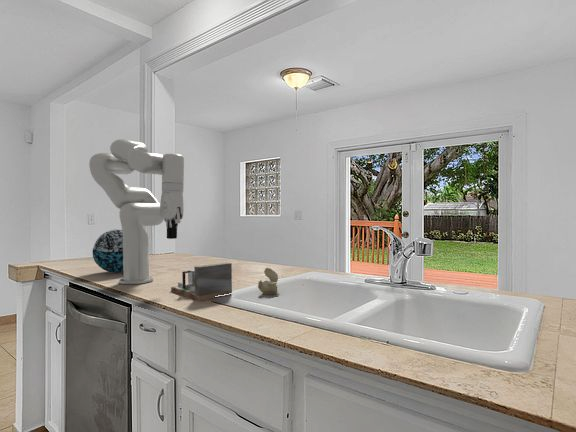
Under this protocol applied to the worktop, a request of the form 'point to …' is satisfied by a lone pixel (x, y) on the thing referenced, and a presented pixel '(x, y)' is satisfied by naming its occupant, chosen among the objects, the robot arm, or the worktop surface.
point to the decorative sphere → (109, 251)
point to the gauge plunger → (189, 278)
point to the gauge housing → (208, 282)
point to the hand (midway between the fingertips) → (171, 238)
